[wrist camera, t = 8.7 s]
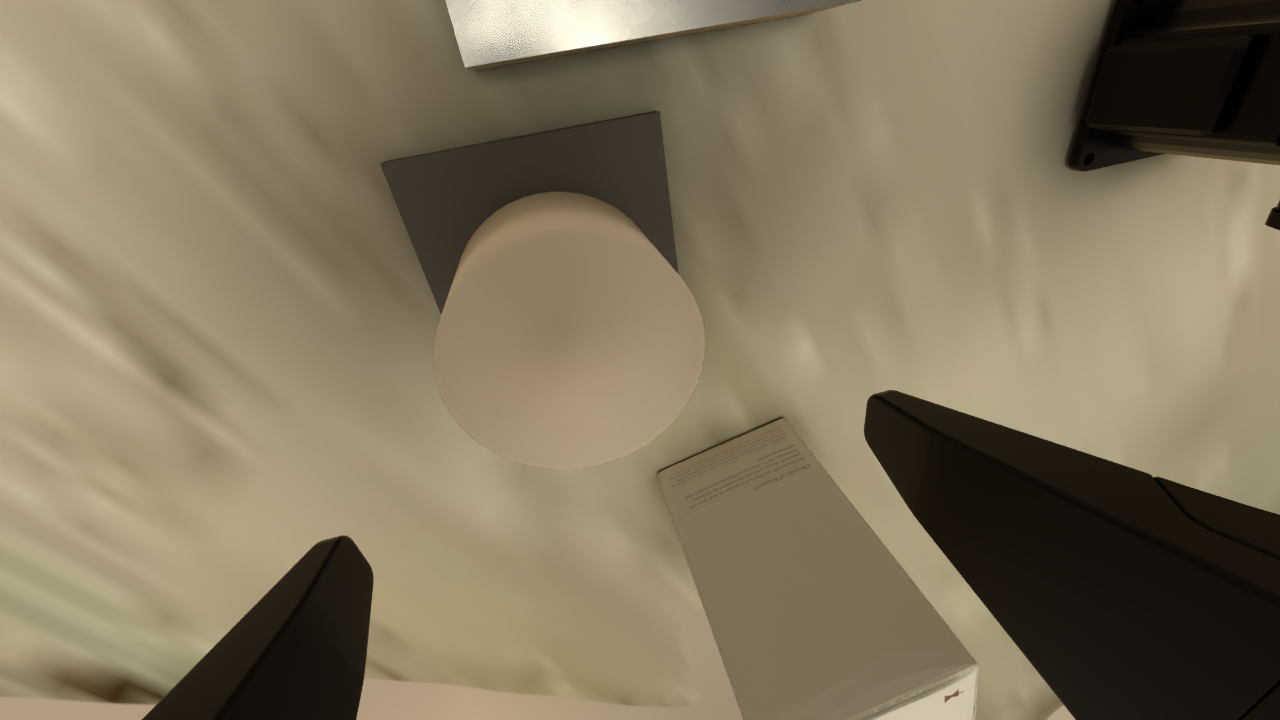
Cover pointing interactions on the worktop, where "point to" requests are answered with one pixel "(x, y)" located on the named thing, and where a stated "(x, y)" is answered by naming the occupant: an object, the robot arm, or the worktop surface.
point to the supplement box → (809, 591)
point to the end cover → (566, 335)
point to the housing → (597, 24)
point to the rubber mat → (531, 185)
